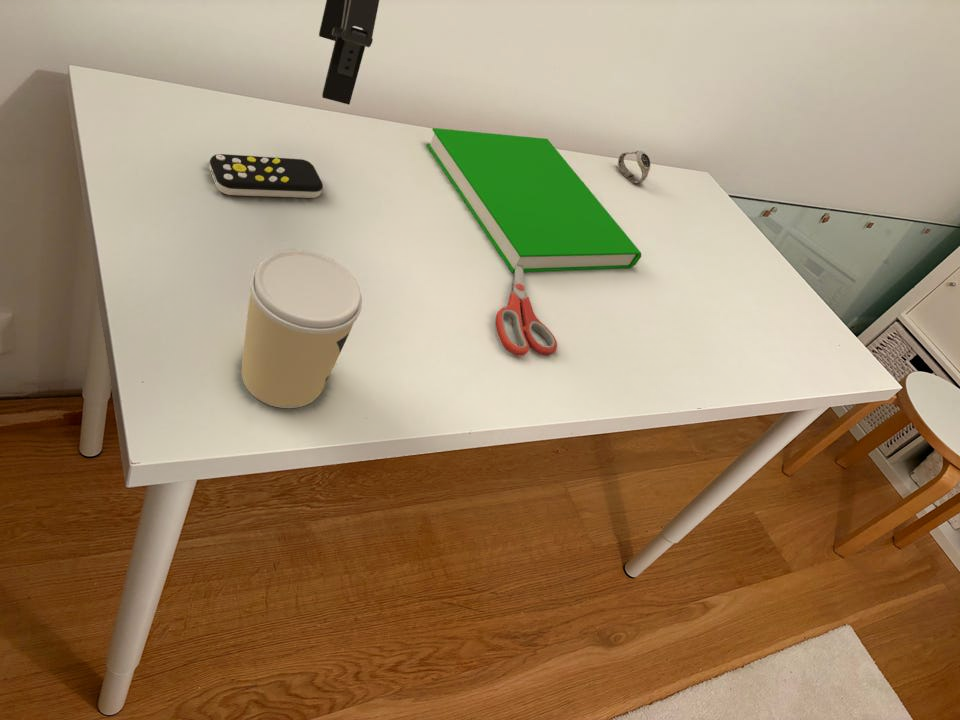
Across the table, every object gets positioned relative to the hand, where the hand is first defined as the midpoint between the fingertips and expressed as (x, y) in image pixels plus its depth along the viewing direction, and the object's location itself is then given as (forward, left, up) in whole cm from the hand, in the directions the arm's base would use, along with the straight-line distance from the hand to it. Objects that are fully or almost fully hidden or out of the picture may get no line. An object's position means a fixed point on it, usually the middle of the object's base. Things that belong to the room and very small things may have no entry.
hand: (333, 67), depth 77 cm
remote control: (-4, +2, -18) cm, 18 cm away
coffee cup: (-2, -29, -18) cm, 34 cm away
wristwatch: (+58, +27, -18) cm, 66 cm away
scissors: (+26, -12, -17) cm, 33 cm away
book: (+34, +10, -18) cm, 40 cm away
